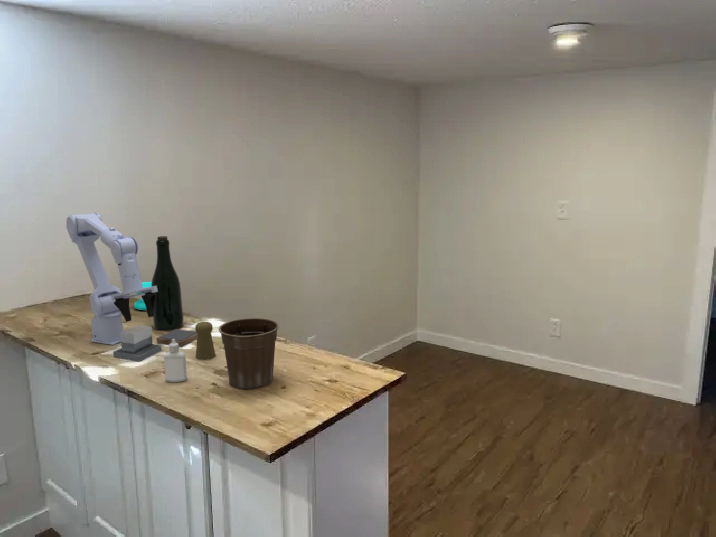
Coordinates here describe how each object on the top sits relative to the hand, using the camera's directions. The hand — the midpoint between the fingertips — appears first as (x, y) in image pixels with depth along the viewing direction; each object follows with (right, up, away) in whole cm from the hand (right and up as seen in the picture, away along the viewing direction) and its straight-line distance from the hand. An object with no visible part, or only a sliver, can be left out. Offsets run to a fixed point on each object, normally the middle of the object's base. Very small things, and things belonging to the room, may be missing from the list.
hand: (140, 319), depth 176 cm
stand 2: (+8, -8, +15) cm, 18 cm away
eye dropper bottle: (+17, -16, -17) cm, 29 cm away
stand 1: (-1, -11, +2) cm, 12 cm away
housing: (-1, -9, +2) cm, 10 cm away
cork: (+20, -12, +1) cm, 24 cm away
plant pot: (+38, -16, -17) cm, 45 cm away
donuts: (-17, 0, +51) cm, 54 cm away
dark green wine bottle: (-1, -5, +29) cm, 30 cm away
